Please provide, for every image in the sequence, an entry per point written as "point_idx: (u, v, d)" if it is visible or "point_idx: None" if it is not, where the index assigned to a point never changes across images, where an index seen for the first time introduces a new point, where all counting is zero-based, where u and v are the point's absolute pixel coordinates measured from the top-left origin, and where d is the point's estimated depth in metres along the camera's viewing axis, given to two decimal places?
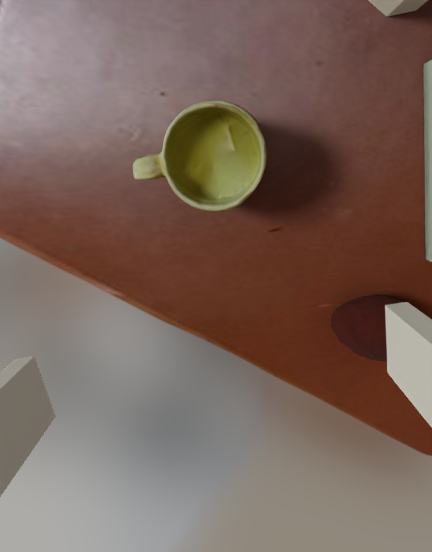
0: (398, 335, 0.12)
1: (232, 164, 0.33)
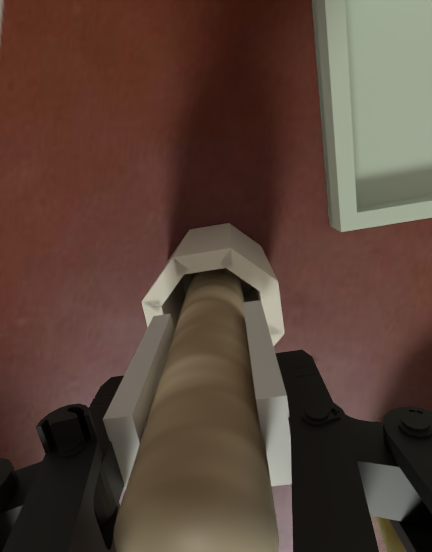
0: None
1: None
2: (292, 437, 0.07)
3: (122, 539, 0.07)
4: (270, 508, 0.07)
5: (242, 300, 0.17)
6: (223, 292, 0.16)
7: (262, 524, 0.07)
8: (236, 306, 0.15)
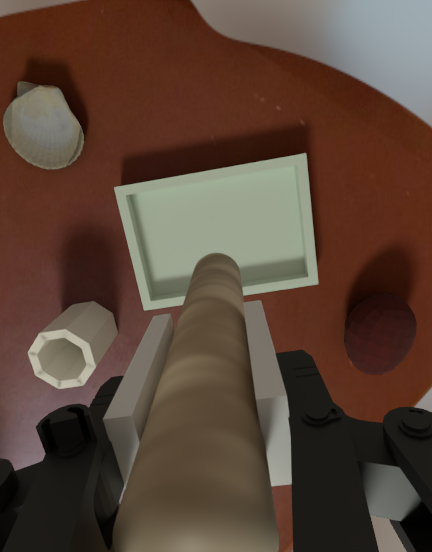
0: None
1: None
2: (292, 437, 0.07)
3: (121, 541, 0.07)
4: (270, 509, 0.07)
5: (242, 300, 0.17)
6: (223, 292, 0.16)
7: (262, 526, 0.07)
8: (236, 306, 0.15)
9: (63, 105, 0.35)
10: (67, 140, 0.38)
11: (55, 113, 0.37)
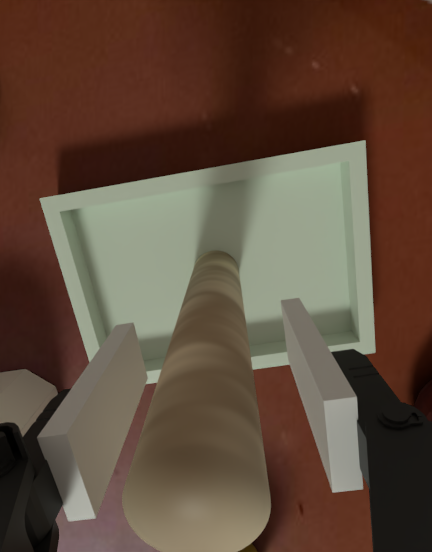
0: (286, 326, 0.14)
1: None
2: (368, 438, 0.07)
3: (129, 503, 0.08)
4: (263, 474, 0.07)
5: (240, 295, 0.18)
6: (222, 286, 0.17)
7: (256, 488, 0.07)
8: (234, 300, 0.16)
9: None
10: None
11: None
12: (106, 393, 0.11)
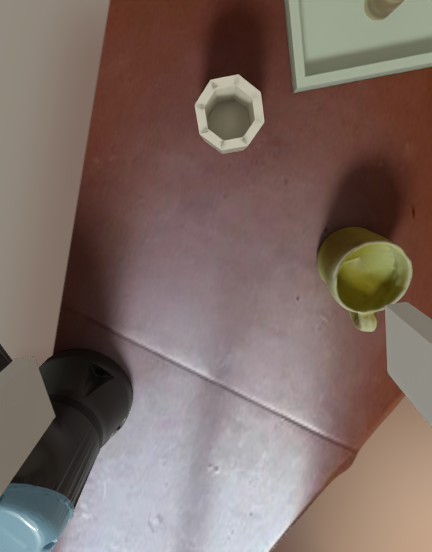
0: (398, 335, 0.12)
1: (370, 259, 0.42)
2: None
3: None
4: None
5: None
6: None
7: None
8: None
9: None
10: None
11: None
12: None
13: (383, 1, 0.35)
